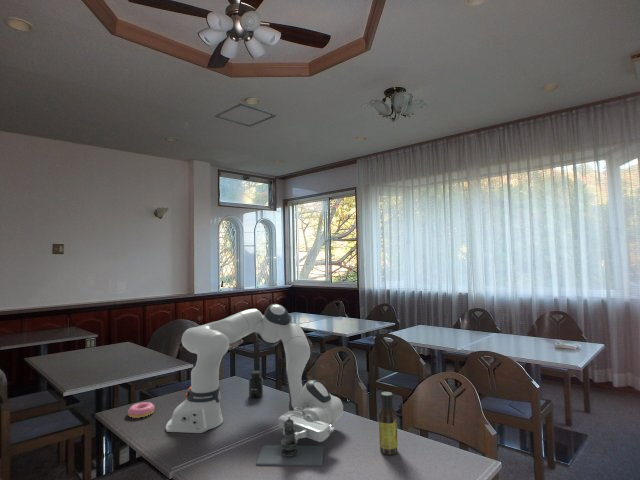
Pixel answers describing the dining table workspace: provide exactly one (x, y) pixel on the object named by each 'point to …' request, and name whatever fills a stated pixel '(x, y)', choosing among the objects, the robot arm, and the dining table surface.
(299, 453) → the mat
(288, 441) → the dark carved figurine
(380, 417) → the sauce bottle
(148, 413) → the doughnut
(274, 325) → the robot arm
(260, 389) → the supplement bottle
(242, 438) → the dining table surface
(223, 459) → the dining table surface
